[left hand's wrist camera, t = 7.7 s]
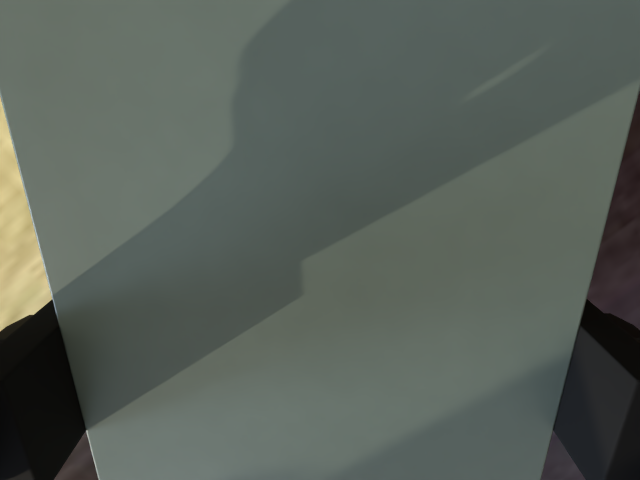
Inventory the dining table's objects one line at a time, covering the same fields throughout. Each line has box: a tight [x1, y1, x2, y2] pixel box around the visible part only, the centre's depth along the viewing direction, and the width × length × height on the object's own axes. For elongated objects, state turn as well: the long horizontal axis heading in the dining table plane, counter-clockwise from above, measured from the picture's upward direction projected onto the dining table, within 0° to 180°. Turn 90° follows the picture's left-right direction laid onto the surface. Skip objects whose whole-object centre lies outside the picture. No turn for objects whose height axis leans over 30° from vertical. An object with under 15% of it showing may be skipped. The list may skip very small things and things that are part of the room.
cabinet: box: [0, 0, 640, 480], centre depth 11 cm, size 17×10×9 cm, turn 0°
